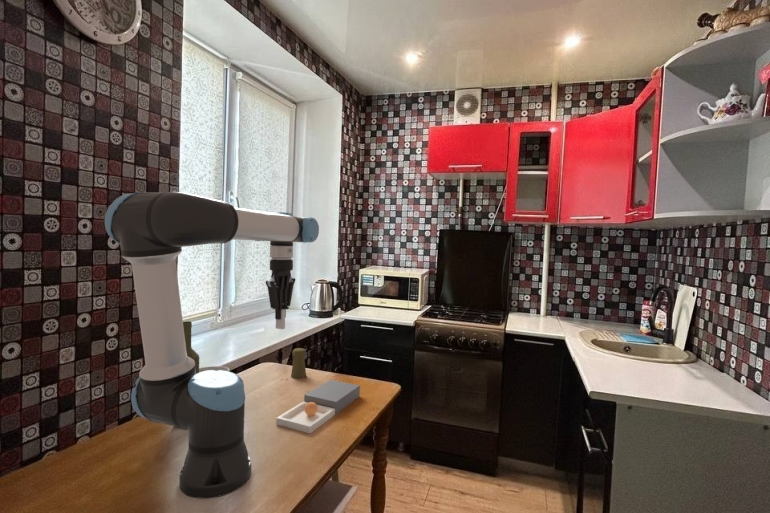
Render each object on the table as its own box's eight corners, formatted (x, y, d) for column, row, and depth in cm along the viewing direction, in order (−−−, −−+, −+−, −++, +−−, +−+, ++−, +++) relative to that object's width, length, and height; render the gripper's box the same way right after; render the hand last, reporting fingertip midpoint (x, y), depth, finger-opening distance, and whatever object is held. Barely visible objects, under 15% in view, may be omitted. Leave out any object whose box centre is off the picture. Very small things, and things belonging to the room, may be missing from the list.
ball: (319, 415, 125) (312, 418, 122) (308, 412, 127) (301, 415, 123) (320, 401, 125) (313, 404, 122) (310, 399, 127) (302, 402, 123)
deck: (335, 414, 127) (336, 401, 126) (304, 406, 131) (304, 394, 131) (359, 396, 141) (359, 385, 141) (330, 390, 146) (330, 379, 146)
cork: (309, 375, 161) (310, 348, 161) (298, 379, 156) (299, 351, 155) (298, 372, 164) (299, 345, 164) (287, 376, 159) (288, 349, 159)
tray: (310, 433, 114) (310, 426, 114) (276, 424, 119) (276, 417, 119) (335, 414, 126) (335, 408, 126) (303, 407, 131) (303, 401, 131)
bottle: (166, 426, 116) (167, 322, 114) (188, 417, 122) (189, 318, 120) (182, 432, 112) (183, 326, 111) (204, 422, 119) (205, 321, 117)
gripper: (277, 259, 127) (276, 333, 128) (302, 258, 139) (301, 326, 140) (259, 258, 130) (258, 330, 131) (284, 257, 142) (283, 323, 143)
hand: (280, 328), depth 136 cm, fingers closed
